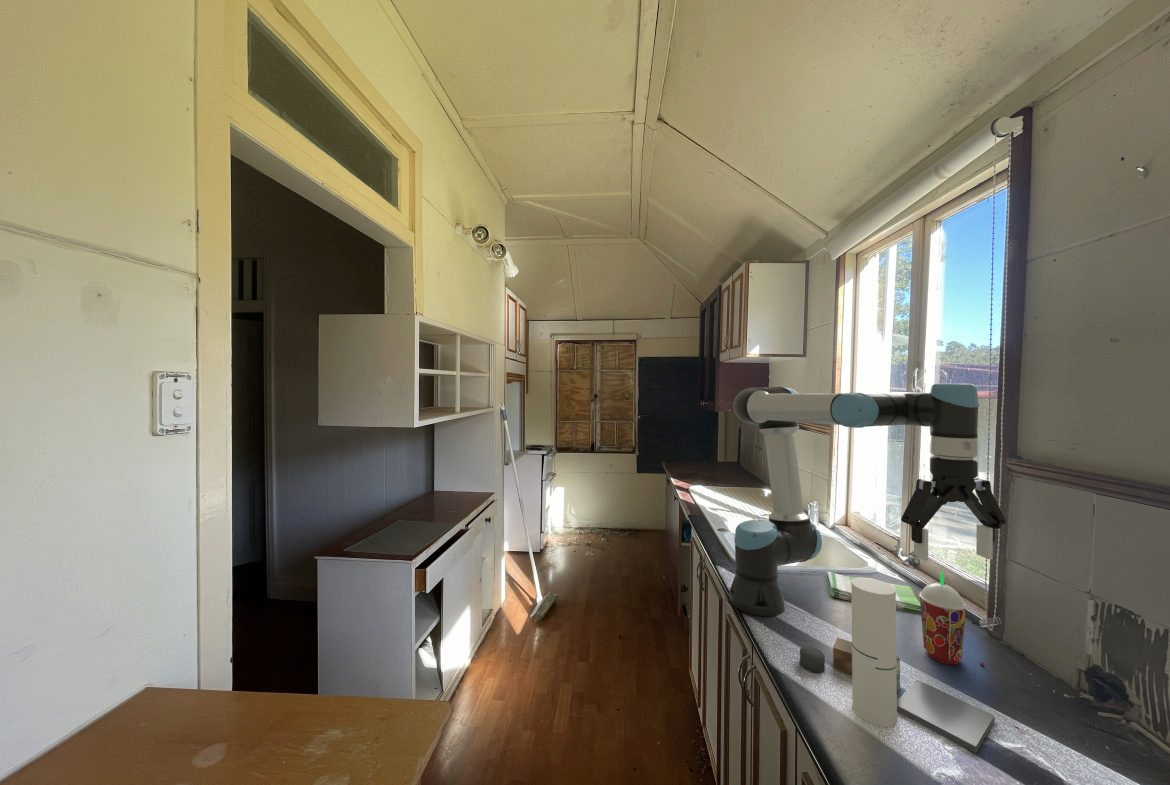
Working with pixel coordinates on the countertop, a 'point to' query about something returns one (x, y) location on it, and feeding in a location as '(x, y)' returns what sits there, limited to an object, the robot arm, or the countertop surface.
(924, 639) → the smoothie
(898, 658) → the grey metal tin
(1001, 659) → the countertop surface
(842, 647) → the walnut block
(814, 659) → the black rubber puck
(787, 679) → the countertop surface
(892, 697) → the cylindrical container
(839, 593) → the dish towel
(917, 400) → the robot arm
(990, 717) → the plate
